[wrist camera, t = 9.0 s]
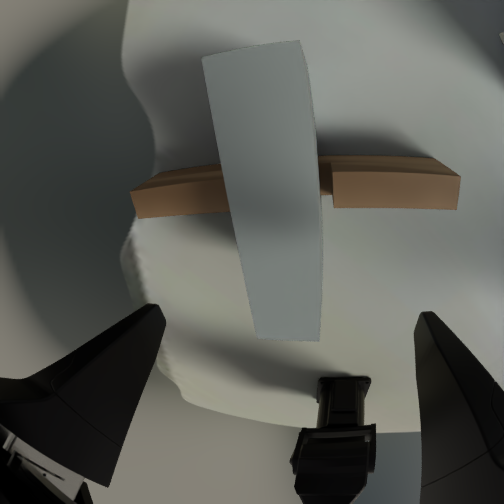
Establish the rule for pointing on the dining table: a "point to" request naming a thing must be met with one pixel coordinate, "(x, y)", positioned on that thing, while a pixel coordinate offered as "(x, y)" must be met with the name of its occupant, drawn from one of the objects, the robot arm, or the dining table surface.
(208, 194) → the slotted walnut board
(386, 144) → the dining table surface
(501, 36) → the light bulb box
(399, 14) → the dining table surface
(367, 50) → the dining table surface
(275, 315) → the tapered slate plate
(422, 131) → the dining table surface
